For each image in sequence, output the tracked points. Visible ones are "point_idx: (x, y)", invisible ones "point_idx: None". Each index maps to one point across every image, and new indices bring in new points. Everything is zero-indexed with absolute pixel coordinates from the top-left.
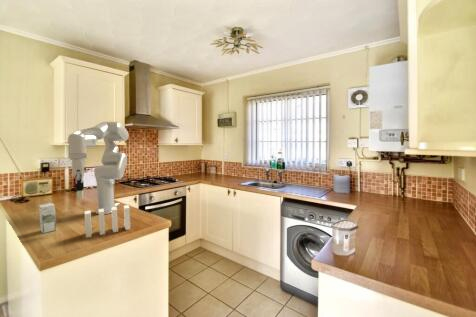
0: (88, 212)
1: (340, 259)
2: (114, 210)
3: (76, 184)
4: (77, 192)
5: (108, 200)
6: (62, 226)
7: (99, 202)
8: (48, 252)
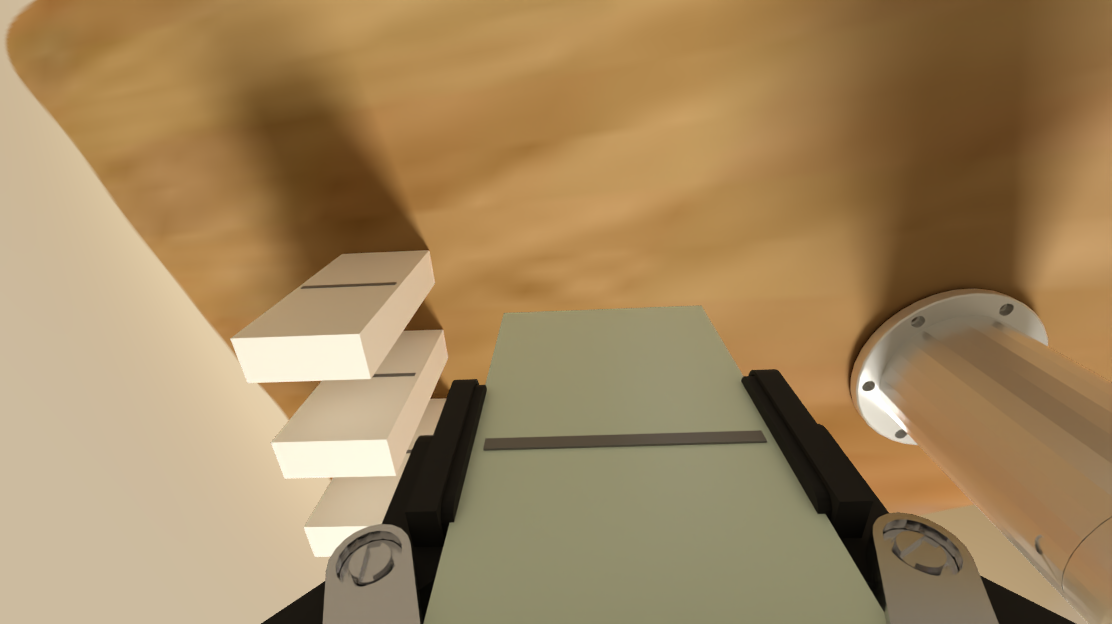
0: (291, 366)
1: None
2: (311, 537)
3: (419, 506)
4: (493, 372)
5: (951, 466)
6: (727, 30)
7: (996, 382)
8: (124, 37)
